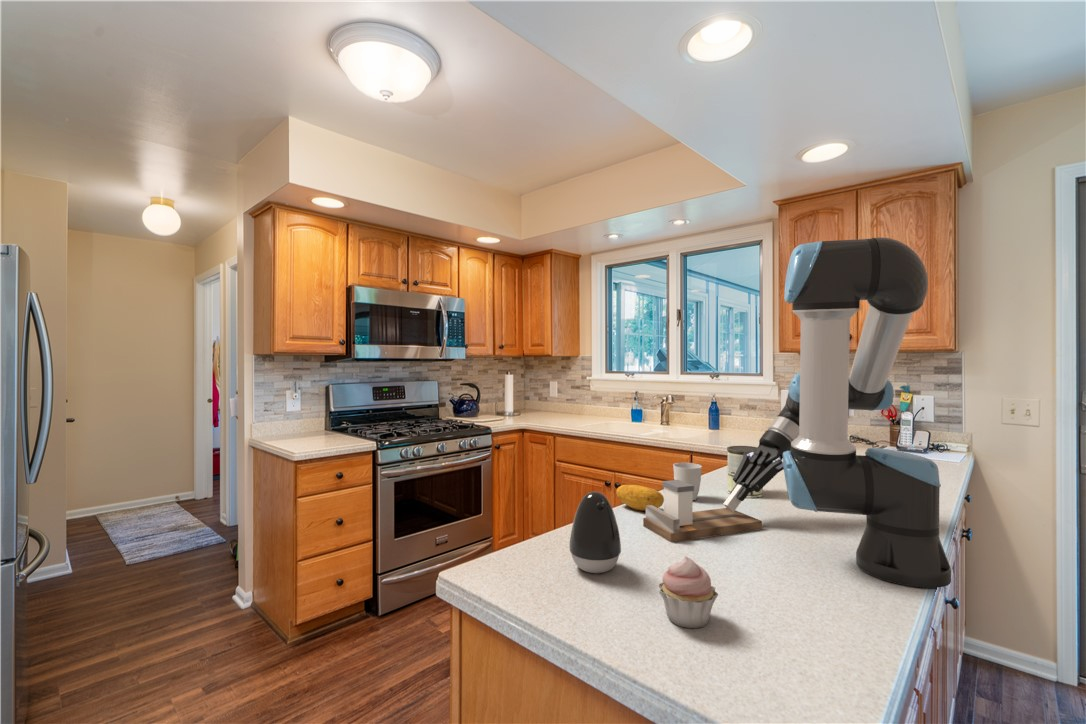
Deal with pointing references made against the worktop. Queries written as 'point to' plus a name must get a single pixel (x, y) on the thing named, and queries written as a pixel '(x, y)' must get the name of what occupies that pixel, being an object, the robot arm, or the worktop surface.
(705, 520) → the board
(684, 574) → the cupcake
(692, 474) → the cup
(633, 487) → the potato
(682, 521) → the fader tab
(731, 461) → the coffee can
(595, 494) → the dark egg-shaped tumbler
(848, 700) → the worktop surface
